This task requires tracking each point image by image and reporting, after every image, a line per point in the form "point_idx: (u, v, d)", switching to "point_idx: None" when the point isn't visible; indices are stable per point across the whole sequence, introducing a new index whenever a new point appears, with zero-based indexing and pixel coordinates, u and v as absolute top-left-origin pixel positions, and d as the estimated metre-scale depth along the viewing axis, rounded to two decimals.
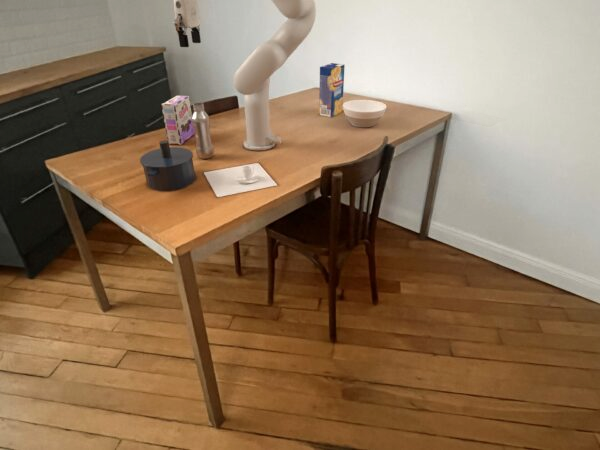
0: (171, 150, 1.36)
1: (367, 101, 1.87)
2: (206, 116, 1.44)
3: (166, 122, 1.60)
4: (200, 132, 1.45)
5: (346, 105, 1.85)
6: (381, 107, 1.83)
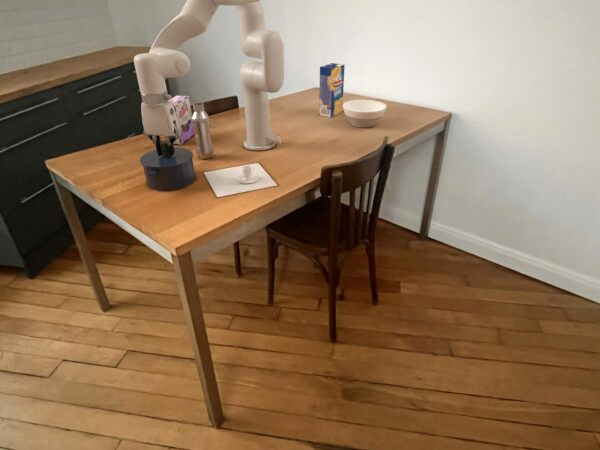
0: None
1: (367, 101, 1.87)
2: (206, 116, 1.44)
3: None
4: (200, 132, 1.45)
5: (346, 105, 1.85)
6: (381, 107, 1.83)
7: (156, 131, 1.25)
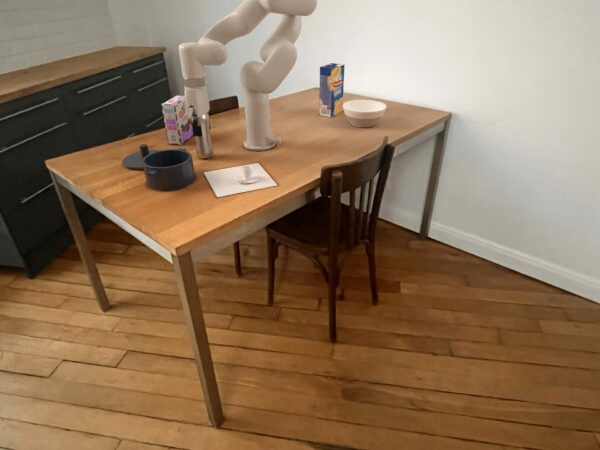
0: (150, 152, 1.54)
1: (367, 101, 1.87)
2: (206, 116, 1.44)
3: (166, 122, 1.60)
4: None
5: (346, 105, 1.85)
6: (381, 107, 1.83)
7: (204, 111, 1.43)
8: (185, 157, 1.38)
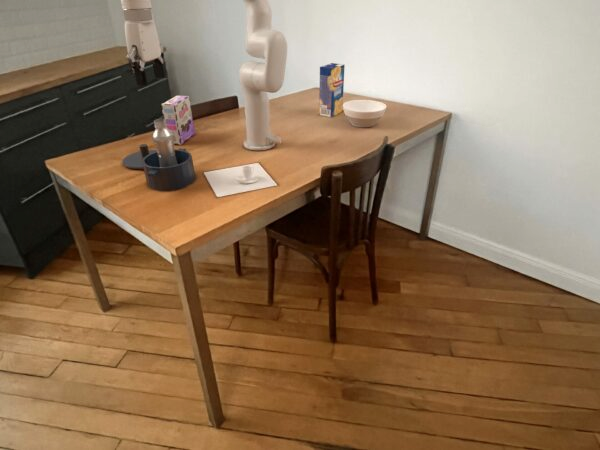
0: (150, 152, 1.54)
1: (367, 101, 1.87)
2: (169, 134, 1.27)
3: (166, 122, 1.60)
4: (162, 151, 1.28)
5: (346, 105, 1.85)
6: (381, 107, 1.83)
7: (152, 54, 1.14)
8: (185, 157, 1.38)
